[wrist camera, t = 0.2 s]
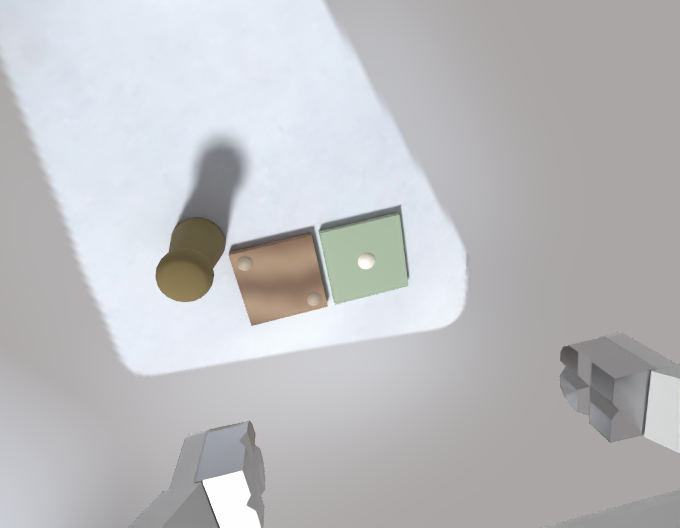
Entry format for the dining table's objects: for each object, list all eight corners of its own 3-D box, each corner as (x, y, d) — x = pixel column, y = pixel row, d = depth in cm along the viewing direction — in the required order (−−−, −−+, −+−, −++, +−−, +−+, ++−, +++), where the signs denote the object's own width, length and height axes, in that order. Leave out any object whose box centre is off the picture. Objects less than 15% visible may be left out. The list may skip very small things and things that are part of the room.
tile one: (318, 230, 49) (319, 233, 48) (397, 212, 50) (399, 214, 49) (334, 300, 53) (335, 304, 52) (405, 282, 54) (408, 286, 53)
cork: (159, 235, 46) (131, 275, 36) (203, 207, 45) (188, 239, 35) (193, 275, 48) (176, 323, 38) (235, 249, 48) (229, 290, 38)
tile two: (229, 252, 48) (228, 255, 47) (310, 232, 49) (311, 235, 48) (251, 321, 52) (251, 326, 51) (326, 302, 53) (327, 306, 52)
